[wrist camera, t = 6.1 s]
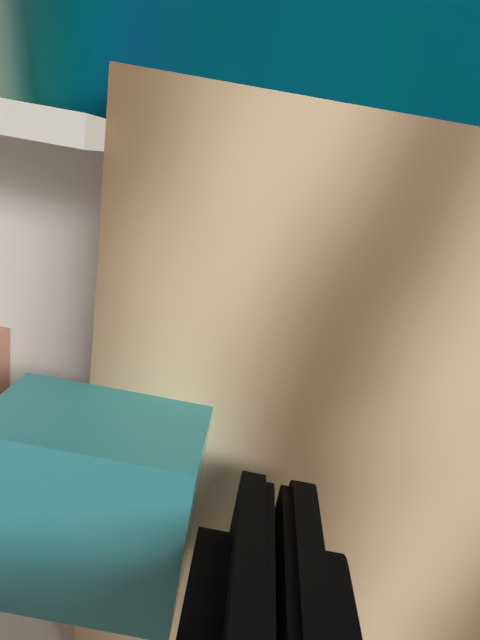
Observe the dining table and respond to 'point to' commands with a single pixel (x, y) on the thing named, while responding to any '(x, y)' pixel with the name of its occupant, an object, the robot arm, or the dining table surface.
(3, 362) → the tile terracotta
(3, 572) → the tile teal
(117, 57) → the dining table surface
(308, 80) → the dining table surface
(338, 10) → the dining table surface
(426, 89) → the dining table surface
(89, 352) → the tray
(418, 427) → the board
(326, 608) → the robot arm
